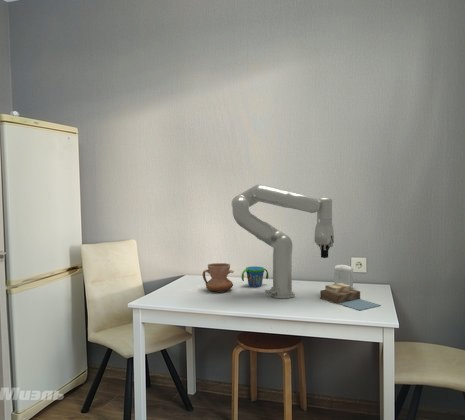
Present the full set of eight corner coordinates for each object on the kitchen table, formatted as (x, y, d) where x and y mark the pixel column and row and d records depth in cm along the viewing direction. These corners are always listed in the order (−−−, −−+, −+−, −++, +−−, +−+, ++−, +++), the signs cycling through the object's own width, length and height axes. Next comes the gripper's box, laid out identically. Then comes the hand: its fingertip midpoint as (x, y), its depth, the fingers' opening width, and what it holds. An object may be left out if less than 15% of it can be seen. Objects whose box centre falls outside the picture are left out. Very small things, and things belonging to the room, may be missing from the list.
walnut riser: (337, 304, 205) (337, 295, 204) (320, 298, 215) (320, 290, 215) (360, 299, 212) (360, 291, 212) (342, 294, 223) (342, 286, 222)
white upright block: (354, 287, 235) (354, 265, 235) (351, 289, 232) (351, 266, 231) (336, 285, 242) (336, 263, 241) (333, 286, 238) (333, 264, 237)
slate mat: (359, 310, 194) (359, 309, 194) (338, 304, 205) (338, 303, 205) (380, 305, 201) (380, 305, 201) (359, 299, 212) (359, 298, 212)
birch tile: (335, 293, 209) (335, 288, 209) (325, 290, 215) (325, 285, 215) (350, 290, 214) (350, 285, 214) (340, 287, 220) (340, 282, 220)
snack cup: (265, 282, 250) (265, 265, 249) (271, 287, 240) (271, 268, 239) (239, 284, 246) (239, 267, 246) (244, 289, 236) (244, 270, 236)
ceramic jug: (238, 288, 238) (238, 262, 237) (229, 294, 224) (228, 267, 224) (208, 286, 244) (208, 261, 244) (197, 292, 231) (196, 266, 230)
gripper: (309, 221, 225) (309, 256, 226) (329, 223, 212) (329, 260, 213) (319, 220, 229) (319, 254, 230) (340, 222, 216) (340, 259, 217)
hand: (324, 257), depth 222 cm, fingers closed
